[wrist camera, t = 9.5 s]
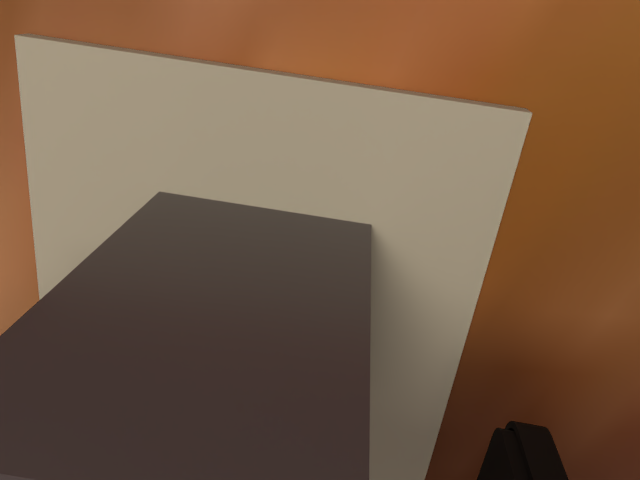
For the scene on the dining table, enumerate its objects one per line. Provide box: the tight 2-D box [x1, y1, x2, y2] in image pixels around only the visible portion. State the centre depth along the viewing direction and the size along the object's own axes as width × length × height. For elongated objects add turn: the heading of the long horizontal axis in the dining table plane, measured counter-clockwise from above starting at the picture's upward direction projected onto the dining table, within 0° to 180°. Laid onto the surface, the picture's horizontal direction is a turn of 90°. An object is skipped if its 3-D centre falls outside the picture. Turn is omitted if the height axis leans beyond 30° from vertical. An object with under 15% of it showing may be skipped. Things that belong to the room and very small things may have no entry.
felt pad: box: [14, 34, 532, 480], centre depth 14 cm, size 11×11×1 cm
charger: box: [0, 191, 371, 480], centre depth 10 cm, size 5×5×8 cm
